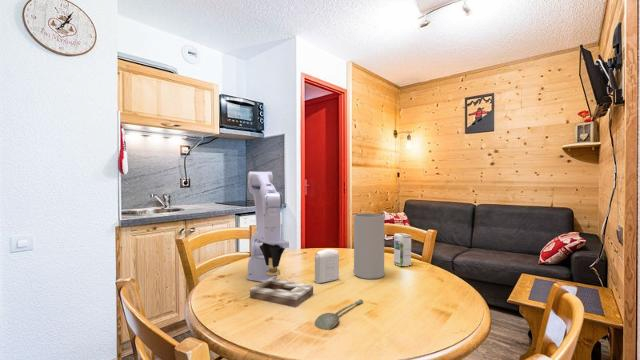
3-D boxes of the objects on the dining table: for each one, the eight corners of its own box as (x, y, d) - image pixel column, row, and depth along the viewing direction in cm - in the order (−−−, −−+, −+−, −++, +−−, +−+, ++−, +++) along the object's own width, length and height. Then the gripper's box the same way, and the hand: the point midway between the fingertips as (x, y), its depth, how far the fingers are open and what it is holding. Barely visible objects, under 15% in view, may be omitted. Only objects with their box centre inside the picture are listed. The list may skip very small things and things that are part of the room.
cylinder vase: (382, 270, 135) (382, 213, 135) (385, 280, 123) (385, 217, 122) (353, 269, 136) (353, 213, 136) (354, 279, 124) (354, 216, 124)
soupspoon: (309, 328, 86) (328, 337, 82) (309, 317, 86) (328, 325, 81) (353, 301, 103) (370, 307, 99) (353, 291, 103) (370, 297, 98)
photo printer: (334, 276, 127) (334, 246, 127) (340, 279, 123) (340, 248, 123) (313, 281, 121) (312, 250, 121) (319, 284, 118) (319, 252, 118)
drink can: (393, 264, 145) (393, 233, 144) (403, 263, 147) (403, 232, 147) (401, 267, 139) (401, 235, 139) (411, 266, 142) (411, 234, 142)
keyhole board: (250, 297, 105) (250, 288, 105) (270, 286, 116) (270, 278, 116) (296, 307, 97) (296, 297, 97) (313, 294, 108) (313, 285, 108)
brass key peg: (263, 274, 108) (262, 257, 108) (274, 270, 112) (273, 254, 112) (272, 277, 105) (271, 260, 105) (282, 273, 109) (282, 256, 109)
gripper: (295, 227, 107) (295, 266, 107) (267, 223, 116) (267, 259, 116) (280, 230, 101) (280, 271, 101) (252, 226, 110) (252, 263, 111)
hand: (272, 265), depth 108 cm, fingers closed on brass key peg, 3 cm apart
